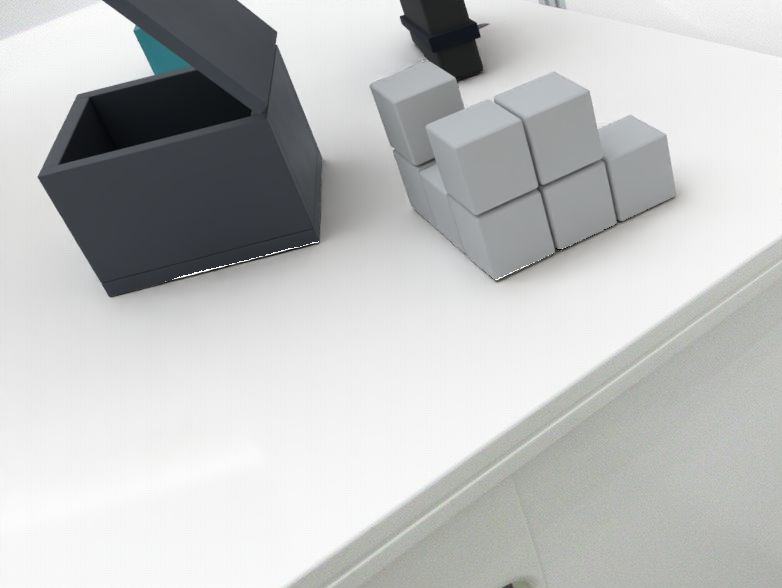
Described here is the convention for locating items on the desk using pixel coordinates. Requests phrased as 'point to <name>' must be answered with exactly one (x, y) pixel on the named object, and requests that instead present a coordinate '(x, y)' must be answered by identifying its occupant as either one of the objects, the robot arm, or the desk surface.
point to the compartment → (183, 177)
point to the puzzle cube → (518, 164)
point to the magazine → (444, 34)
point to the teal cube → (158, 54)
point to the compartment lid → (212, 41)
